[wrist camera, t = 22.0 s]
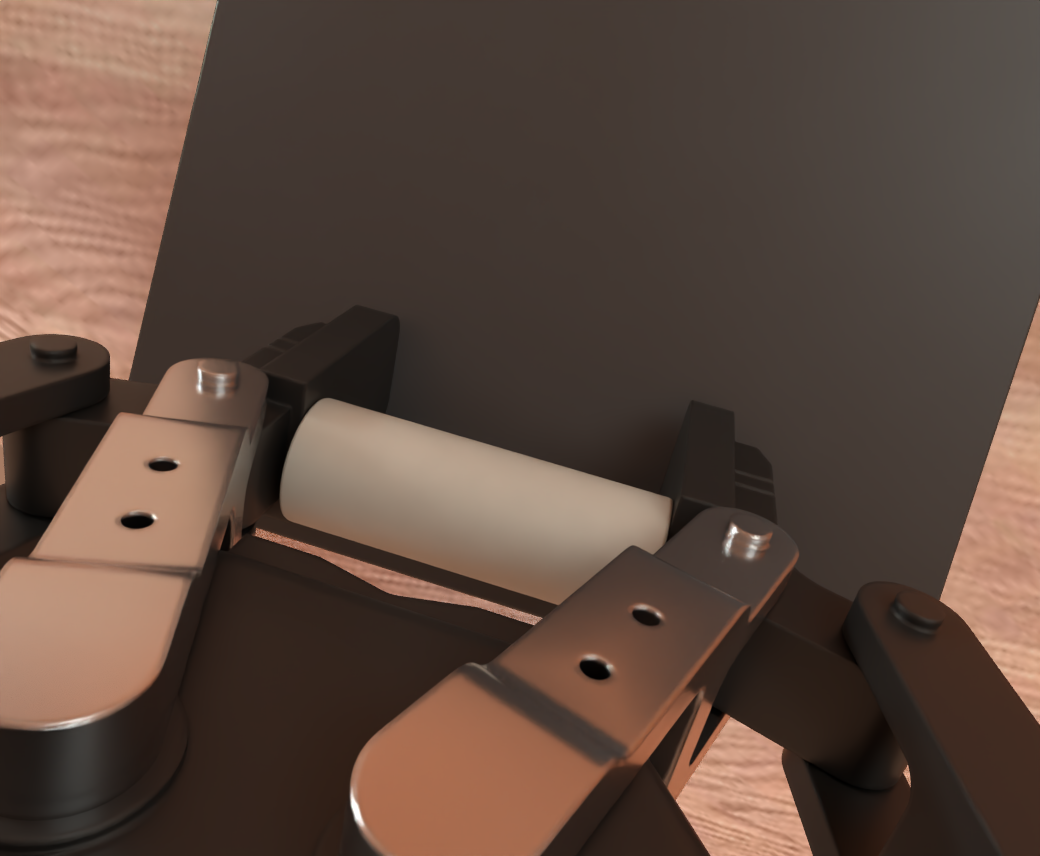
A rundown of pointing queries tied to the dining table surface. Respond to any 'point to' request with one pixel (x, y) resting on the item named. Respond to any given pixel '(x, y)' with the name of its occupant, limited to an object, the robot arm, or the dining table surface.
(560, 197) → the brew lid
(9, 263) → the dining table surface
